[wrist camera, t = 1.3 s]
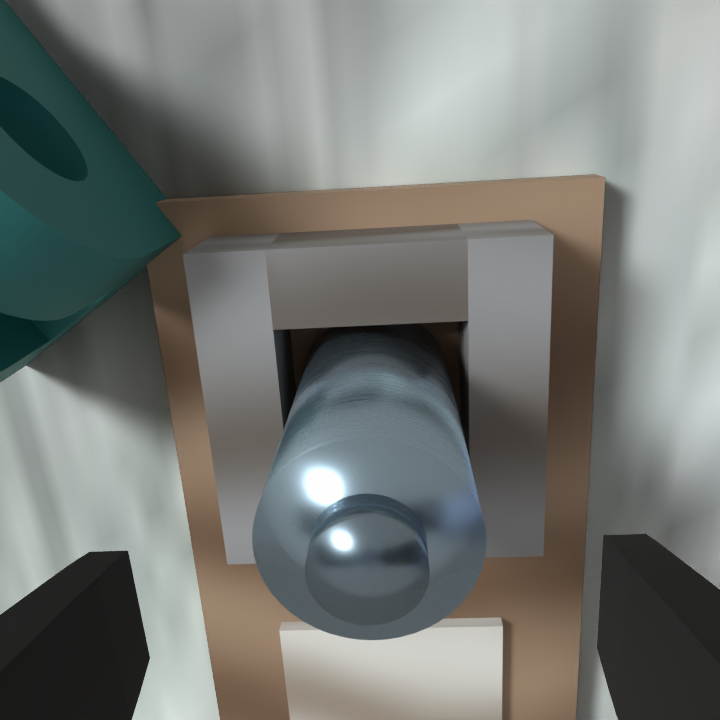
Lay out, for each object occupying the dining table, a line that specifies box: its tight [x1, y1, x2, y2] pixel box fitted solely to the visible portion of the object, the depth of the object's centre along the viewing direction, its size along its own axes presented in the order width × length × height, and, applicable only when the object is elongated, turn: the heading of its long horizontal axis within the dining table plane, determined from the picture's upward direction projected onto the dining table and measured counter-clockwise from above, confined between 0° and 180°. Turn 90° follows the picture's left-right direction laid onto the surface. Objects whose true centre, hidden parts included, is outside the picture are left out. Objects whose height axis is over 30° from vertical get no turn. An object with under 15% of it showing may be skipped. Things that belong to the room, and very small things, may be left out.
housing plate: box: [147, 174, 605, 720], centre depth 21 cm, size 22×12×4 cm, turn 3°
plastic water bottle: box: [252, 323, 486, 640], centre depth 15 cm, size 4×4×9 cm
